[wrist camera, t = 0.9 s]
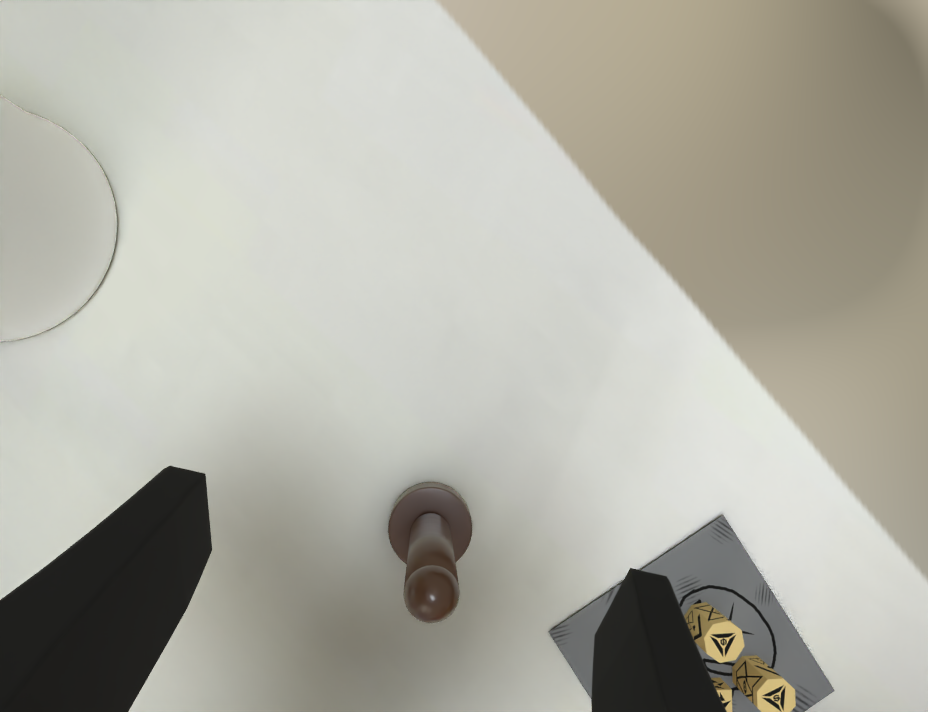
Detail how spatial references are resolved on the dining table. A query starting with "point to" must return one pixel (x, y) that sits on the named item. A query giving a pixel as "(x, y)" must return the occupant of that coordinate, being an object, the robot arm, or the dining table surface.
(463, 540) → the flanged brown rod
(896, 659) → the dining table surface
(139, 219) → the dining table surface
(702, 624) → the dice set
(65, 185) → the mug
